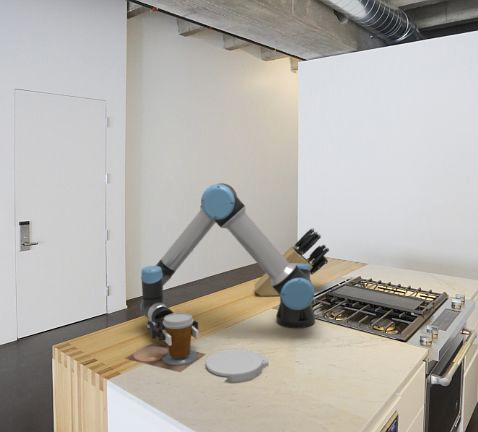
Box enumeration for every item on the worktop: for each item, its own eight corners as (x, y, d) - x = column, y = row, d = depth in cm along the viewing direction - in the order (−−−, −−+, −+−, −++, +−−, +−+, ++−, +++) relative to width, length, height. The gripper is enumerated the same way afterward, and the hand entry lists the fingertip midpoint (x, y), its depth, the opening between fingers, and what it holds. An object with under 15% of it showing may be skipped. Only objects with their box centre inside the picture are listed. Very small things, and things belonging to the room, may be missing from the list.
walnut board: (206, 358, 141) (206, 353, 141) (180, 377, 129) (180, 372, 129) (152, 346, 152) (152, 342, 152) (124, 362, 140) (123, 358, 140)
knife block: (330, 295, 206) (329, 230, 203) (255, 297, 206) (253, 232, 203) (325, 288, 217) (325, 226, 214) (254, 290, 218) (253, 228, 214)
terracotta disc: (175, 351, 144) (175, 349, 144) (153, 364, 135) (153, 363, 134) (149, 345, 149) (148, 344, 149) (126, 358, 140) (126, 356, 140)
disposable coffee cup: (165, 348, 143) (163, 313, 142) (195, 346, 144) (193, 311, 143) (163, 361, 134) (161, 323, 132) (194, 359, 134) (193, 321, 133)
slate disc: (204, 354, 141) (204, 353, 141) (183, 368, 131) (183, 367, 131) (176, 348, 146) (176, 347, 146) (155, 361, 137) (154, 360, 137)
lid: (281, 370, 132) (281, 361, 132) (224, 390, 122) (223, 379, 121) (250, 351, 147) (249, 342, 146) (196, 367, 136) (195, 357, 136)
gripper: (189, 321, 159) (215, 343, 139) (132, 332, 150) (151, 357, 129) (189, 301, 158) (215, 320, 138) (131, 311, 149) (149, 333, 129)
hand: (184, 338), depth 134 cm, fingers closed on disposable coffee cup, 8 cm apart
